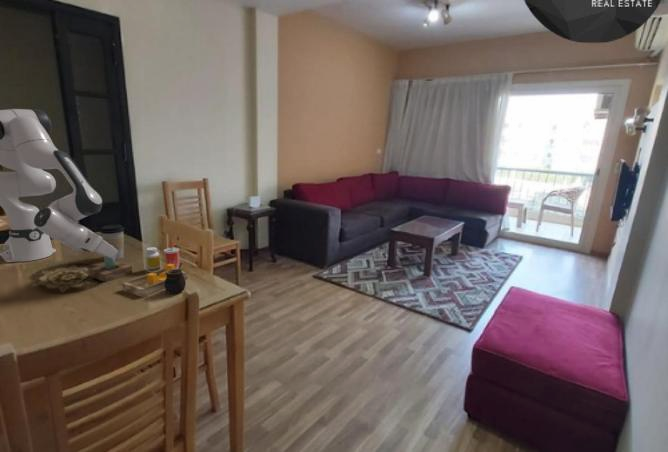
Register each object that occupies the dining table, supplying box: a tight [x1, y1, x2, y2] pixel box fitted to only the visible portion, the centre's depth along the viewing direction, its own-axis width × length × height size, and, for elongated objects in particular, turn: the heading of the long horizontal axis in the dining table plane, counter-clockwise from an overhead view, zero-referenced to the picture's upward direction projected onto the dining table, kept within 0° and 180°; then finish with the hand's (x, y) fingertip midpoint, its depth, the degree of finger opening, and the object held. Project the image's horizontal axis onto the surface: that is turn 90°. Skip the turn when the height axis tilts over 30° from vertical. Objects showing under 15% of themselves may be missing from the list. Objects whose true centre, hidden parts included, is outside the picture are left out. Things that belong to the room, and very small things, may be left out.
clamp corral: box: [121, 267, 188, 298], centre depth 135 cm, size 11×19×3 cm, turn 153°
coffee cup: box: [100, 224, 125, 261], centre depth 161 cm, size 9×9×15 cm
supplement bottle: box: [144, 247, 161, 273], centre depth 148 cm, size 5×5×10 cm
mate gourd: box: [164, 262, 187, 295], centre depth 130 cm, size 7×8×10 cm
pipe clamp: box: [146, 264, 175, 286], centre depth 135 cm, size 12×4×6 cm, turn 166°
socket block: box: [88, 260, 133, 283], centre depth 143 cm, size 11×11×3 cm
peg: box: [103, 245, 116, 271], centre depth 142 cm, size 4×4×10 cm
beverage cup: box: [163, 238, 180, 269], centre depth 149 cm, size 6×6×14 cm
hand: (110, 256), depth 142 cm, fingers closed on peg, 4 cm apart
